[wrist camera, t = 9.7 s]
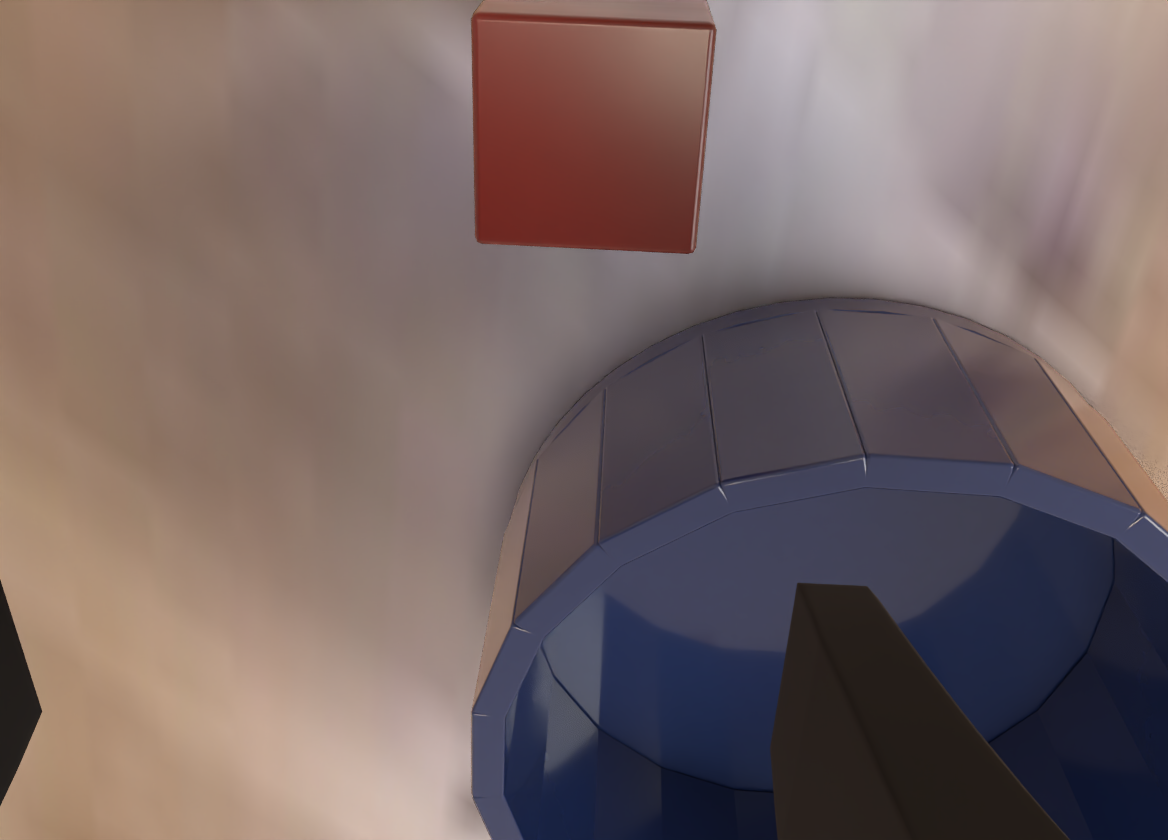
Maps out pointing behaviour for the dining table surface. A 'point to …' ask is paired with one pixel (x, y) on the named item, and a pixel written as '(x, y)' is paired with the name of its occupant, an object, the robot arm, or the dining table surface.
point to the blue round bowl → (820, 573)
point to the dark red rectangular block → (591, 122)
